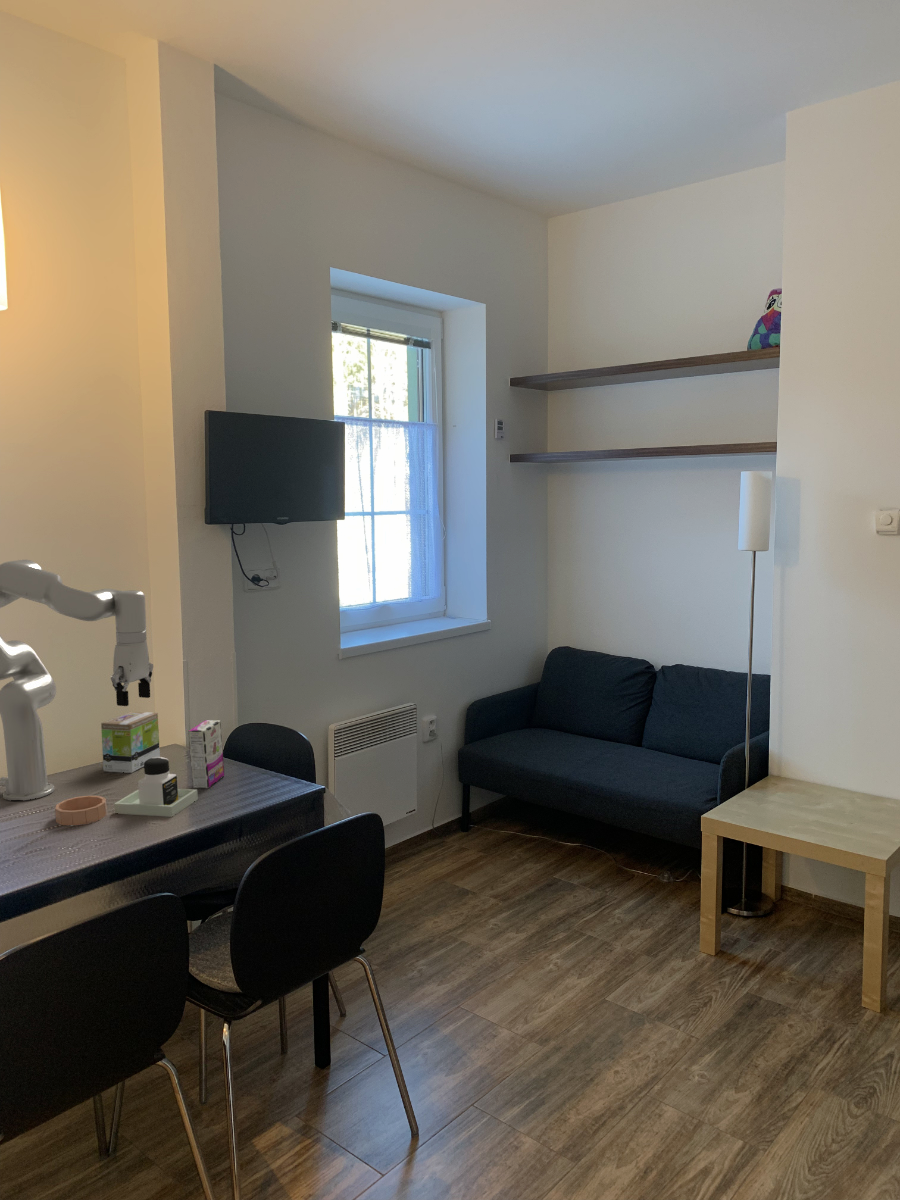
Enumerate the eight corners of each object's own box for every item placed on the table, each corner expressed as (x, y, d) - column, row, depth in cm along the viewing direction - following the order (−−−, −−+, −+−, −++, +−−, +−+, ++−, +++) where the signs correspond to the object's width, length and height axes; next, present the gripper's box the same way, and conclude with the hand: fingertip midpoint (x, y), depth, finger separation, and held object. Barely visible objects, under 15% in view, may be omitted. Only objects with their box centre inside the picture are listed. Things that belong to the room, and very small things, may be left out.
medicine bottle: (164, 809, 229) (161, 763, 227) (139, 808, 230) (135, 762, 229) (178, 800, 235) (175, 755, 234) (154, 799, 237) (151, 754, 236)
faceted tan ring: (46, 824, 223) (45, 810, 222) (75, 807, 234) (74, 794, 233) (88, 826, 220) (87, 812, 220) (115, 810, 231) (114, 796, 231)
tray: (114, 813, 229) (114, 803, 228) (143, 796, 241) (142, 786, 241) (172, 816, 225) (171, 806, 225) (197, 799, 238) (197, 789, 237)
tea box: (133, 773, 262) (129, 723, 260) (102, 772, 264) (99, 722, 262) (161, 758, 276) (158, 711, 275) (132, 757, 279) (128, 710, 277)
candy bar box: (208, 775, 258) (204, 719, 256) (225, 776, 257) (221, 719, 255) (191, 788, 247) (187, 730, 245) (208, 789, 246) (204, 730, 244)
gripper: (138, 632, 247) (140, 693, 249) (98, 642, 231) (101, 708, 233) (162, 633, 245) (164, 695, 247) (124, 643, 229) (126, 710, 231)
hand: (133, 701), depth 240 cm, fingers open, 9 cm apart
